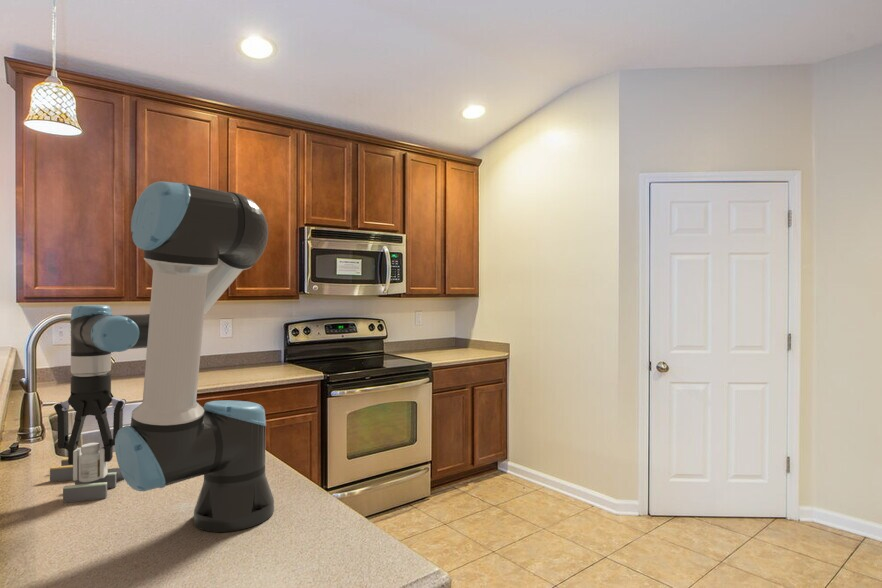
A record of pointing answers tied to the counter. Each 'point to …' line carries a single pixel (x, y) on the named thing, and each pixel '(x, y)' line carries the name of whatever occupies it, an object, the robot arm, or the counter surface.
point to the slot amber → (61, 471)
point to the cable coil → (117, 474)
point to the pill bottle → (89, 462)
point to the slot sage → (89, 489)
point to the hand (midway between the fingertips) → (90, 476)
